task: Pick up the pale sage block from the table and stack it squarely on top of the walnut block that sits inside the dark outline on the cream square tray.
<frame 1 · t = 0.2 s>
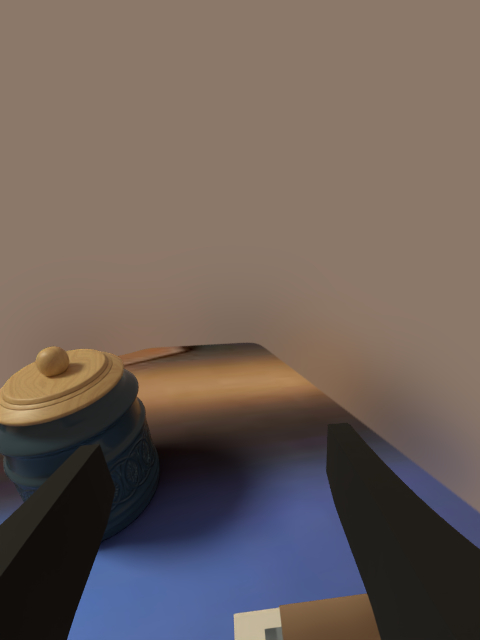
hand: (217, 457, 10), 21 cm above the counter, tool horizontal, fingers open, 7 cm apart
canister: (103, 491, 36), on the counter
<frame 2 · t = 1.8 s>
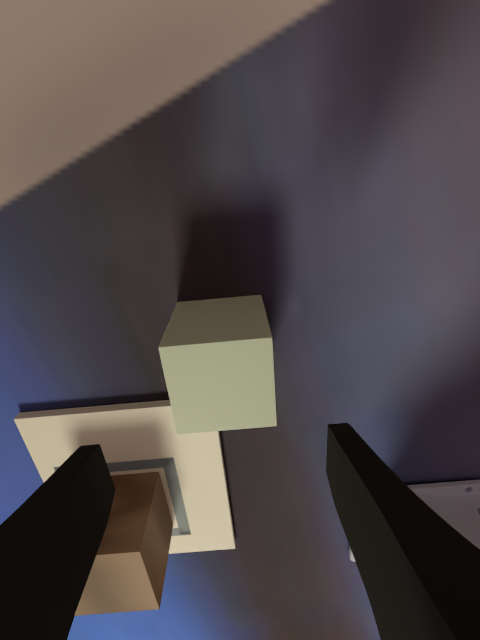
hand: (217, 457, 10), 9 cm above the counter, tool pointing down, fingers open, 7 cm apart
sage block: (223, 335, 18), on the counter
cream square tray: (140, 484, 23), on the counter
walnut block: (127, 503, 23), point 1 cm above the counter, touching cream square tray
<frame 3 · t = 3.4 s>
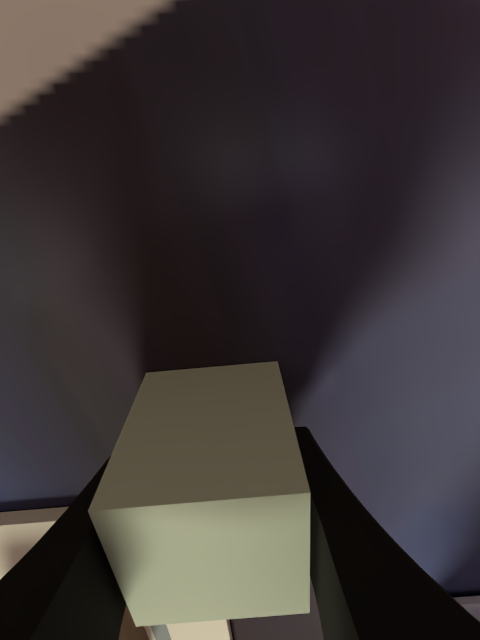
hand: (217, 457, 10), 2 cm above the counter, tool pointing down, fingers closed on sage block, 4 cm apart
sage block: (218, 418, 12), on the counter, touching gripper
cream square tray: (106, 598, 17), on the counter
walnut block: (87, 625, 16), point 1 cm above the counter, touching cream square tray
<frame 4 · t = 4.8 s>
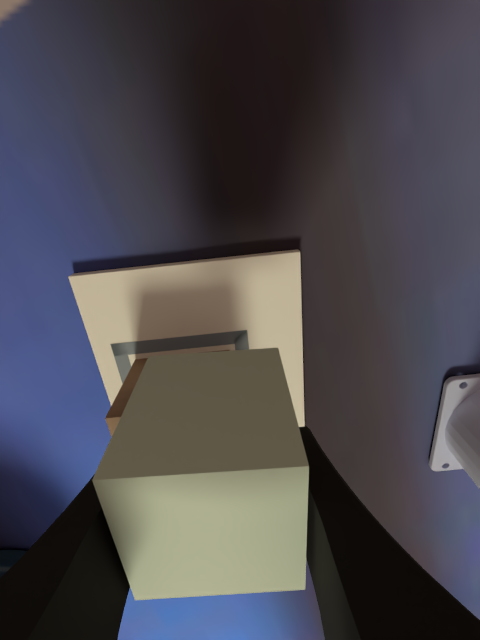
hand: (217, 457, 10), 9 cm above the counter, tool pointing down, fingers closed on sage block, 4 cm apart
sage block: (219, 403, 12), point 7 cm above the counter, touching gripper
cream square tray: (204, 372, 20), on the counter
walnut block: (189, 392, 20), point 1 cm above the counter, touching cream square tray
canister: (29, 587, 29), on the counter
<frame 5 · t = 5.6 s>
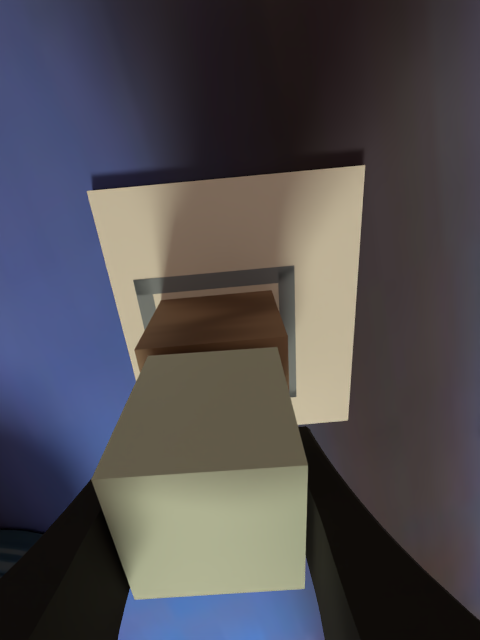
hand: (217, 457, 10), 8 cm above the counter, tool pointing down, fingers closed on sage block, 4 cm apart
sage block: (218, 403, 12), point 6 cm above the counter, touching gripper
cream square tray: (239, 320, 17), on the counter
walnut block: (222, 343, 17), point 1 cm above the counter, touching cream square tray
canister: (28, 573, 26), on the counter
when the fingers open (8 cm above the counter, at t = 6.3 s): sage block stays where it is, resting on walnut block.
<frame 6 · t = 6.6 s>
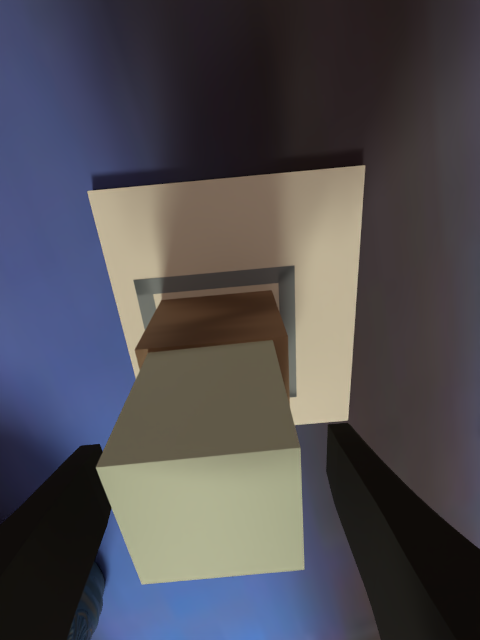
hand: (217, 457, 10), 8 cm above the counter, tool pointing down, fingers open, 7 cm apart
sage block: (218, 397, 13), point 6 cm above the counter, touching walnut block
cream square tray: (239, 320, 17), on the counter
walnut block: (222, 343, 17), point 1 cm above the counter, touching cream square tray, sage block
canister: (28, 573, 26), on the counter
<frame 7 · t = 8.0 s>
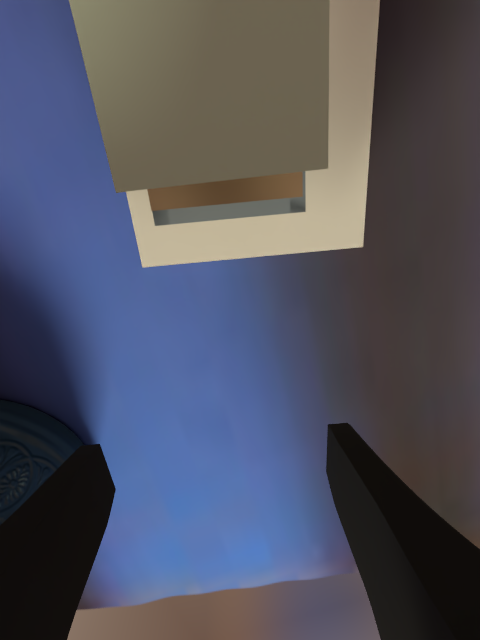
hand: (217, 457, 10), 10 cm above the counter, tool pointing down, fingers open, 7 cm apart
sage block: (216, 101, 10), point 6 cm above the counter, touching walnut block
cream square tray: (240, 107, 15), on the counter
walnut block: (221, 132, 15), point 1 cm above the counter, touching cream square tray, sage block
canister: (12, 461, 24), on the counter
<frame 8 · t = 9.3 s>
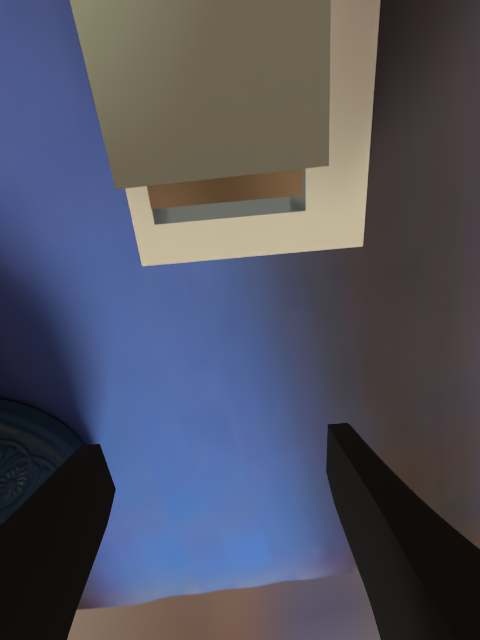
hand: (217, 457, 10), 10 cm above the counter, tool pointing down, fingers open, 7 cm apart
sage block: (216, 99, 10), point 6 cm above the counter, touching walnut block
cream square tray: (241, 106, 15), on the counter
walnut block: (221, 131, 15), point 1 cm above the counter, touching cream square tray, sage block
canister: (11, 461, 24), on the counter
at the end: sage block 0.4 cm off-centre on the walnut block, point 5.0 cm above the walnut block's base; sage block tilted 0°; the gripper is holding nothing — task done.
